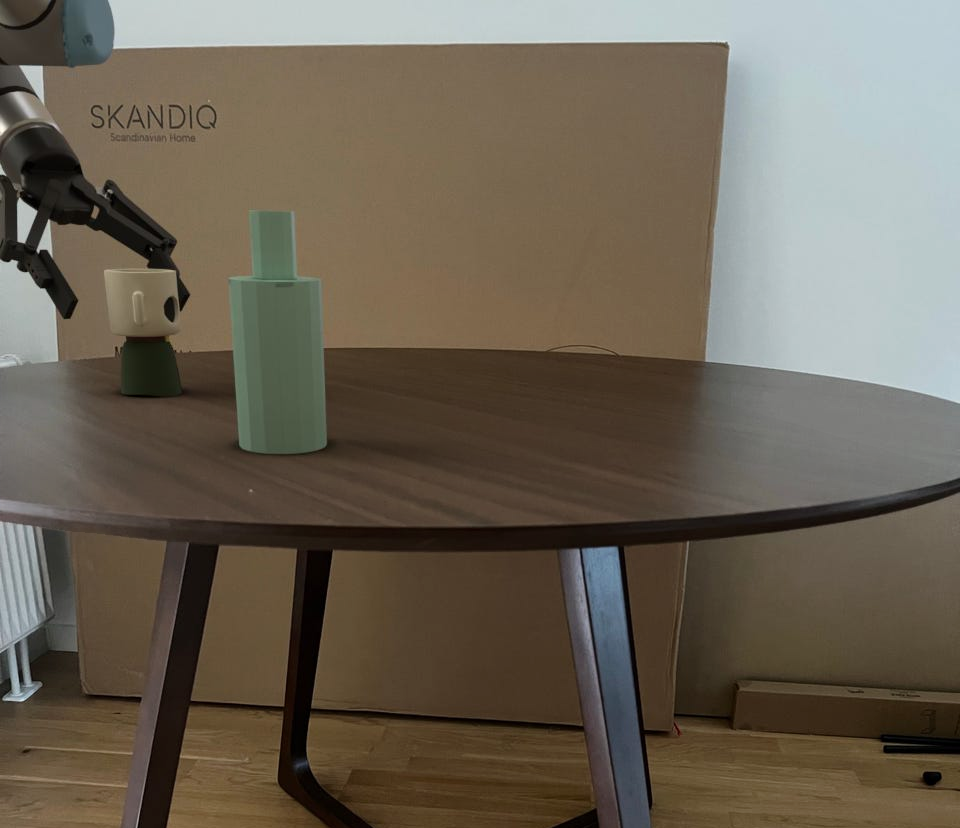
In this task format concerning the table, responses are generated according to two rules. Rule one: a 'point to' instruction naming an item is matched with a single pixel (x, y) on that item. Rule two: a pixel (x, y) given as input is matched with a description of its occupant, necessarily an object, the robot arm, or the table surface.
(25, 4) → the robot arm
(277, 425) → the bottle
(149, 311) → the character mug
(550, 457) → the table surface
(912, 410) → the table surface
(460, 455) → the table surface
